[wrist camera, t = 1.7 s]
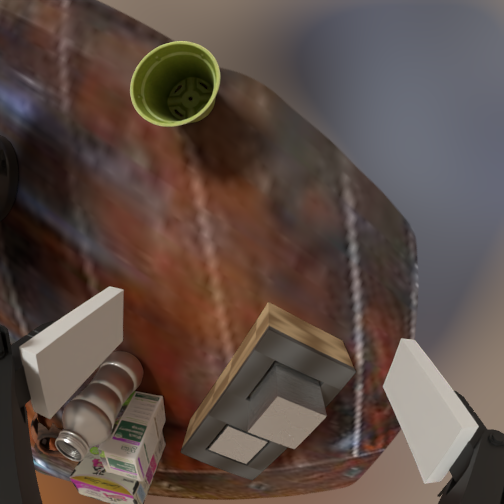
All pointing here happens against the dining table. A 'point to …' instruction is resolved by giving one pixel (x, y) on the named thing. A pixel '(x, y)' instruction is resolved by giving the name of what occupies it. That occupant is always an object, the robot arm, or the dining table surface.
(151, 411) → the syrup box
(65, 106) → the dining table surface
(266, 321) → the socket block
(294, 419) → the peg
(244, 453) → the seated peg
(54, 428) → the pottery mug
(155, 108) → the plant pot
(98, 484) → the candy bar box
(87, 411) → the plastic bottle
